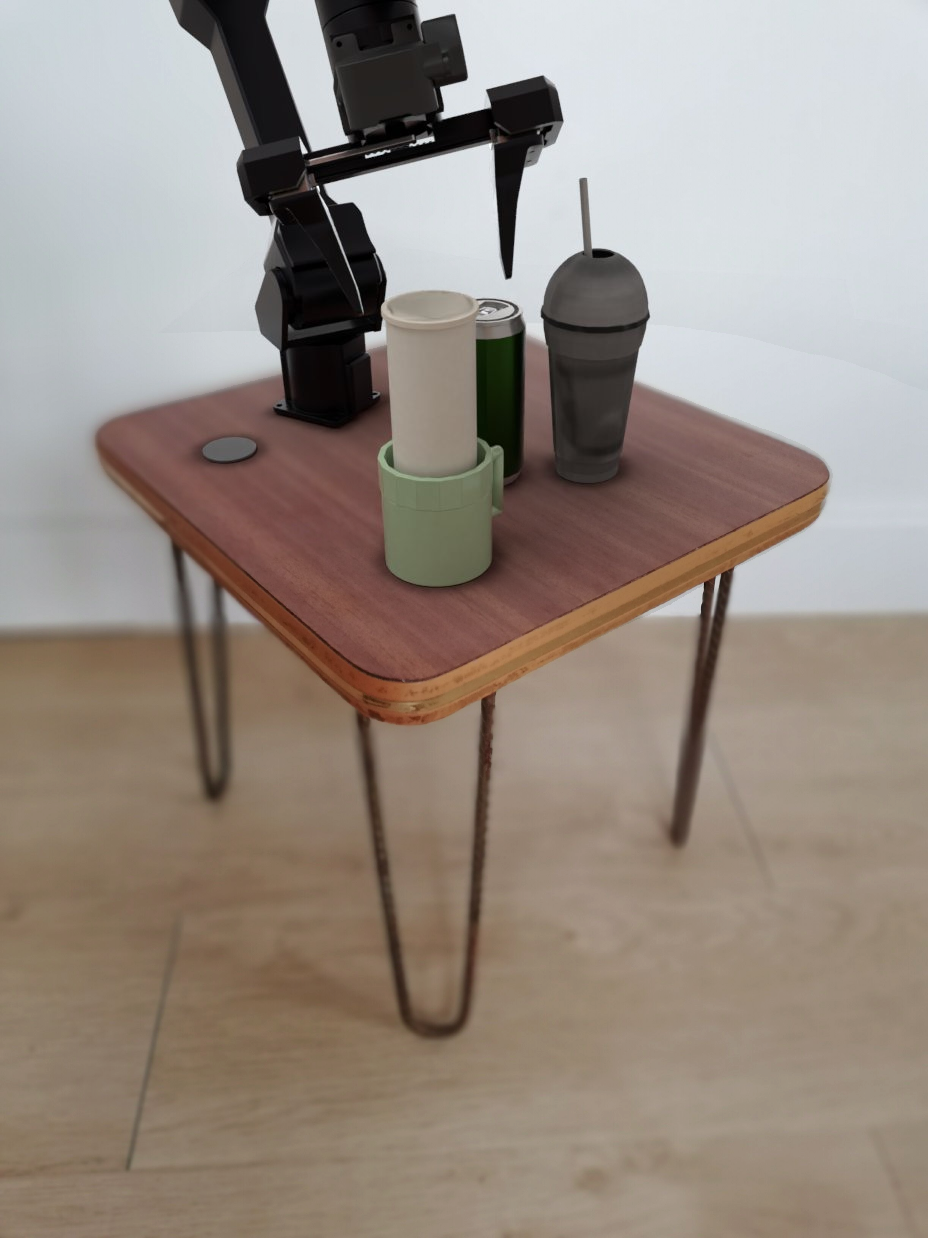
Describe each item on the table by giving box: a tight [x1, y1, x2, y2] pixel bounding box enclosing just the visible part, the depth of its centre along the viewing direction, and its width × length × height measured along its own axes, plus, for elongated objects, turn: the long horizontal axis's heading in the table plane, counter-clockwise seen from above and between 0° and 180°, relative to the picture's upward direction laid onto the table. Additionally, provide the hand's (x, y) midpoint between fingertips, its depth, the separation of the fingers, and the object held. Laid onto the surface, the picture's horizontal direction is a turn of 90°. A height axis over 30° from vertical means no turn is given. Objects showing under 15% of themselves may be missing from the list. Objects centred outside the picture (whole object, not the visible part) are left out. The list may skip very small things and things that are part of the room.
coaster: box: [202, 436, 257, 464], centre depth 82 cm, size 4×4×1 cm
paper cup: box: [381, 289, 479, 478], centre depth 63 cm, size 5×5×11 cm
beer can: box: [473, 296, 527, 487], centre depth 75 cm, size 5×5×12 cm
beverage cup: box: [540, 177, 651, 484], centre depth 73 cm, size 7×7×20 cm
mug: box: [377, 437, 504, 588], centre depth 67 cm, size 9×7×7 cm
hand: (434, 296), depth 65 cm, fingers open, 9 cm apart
